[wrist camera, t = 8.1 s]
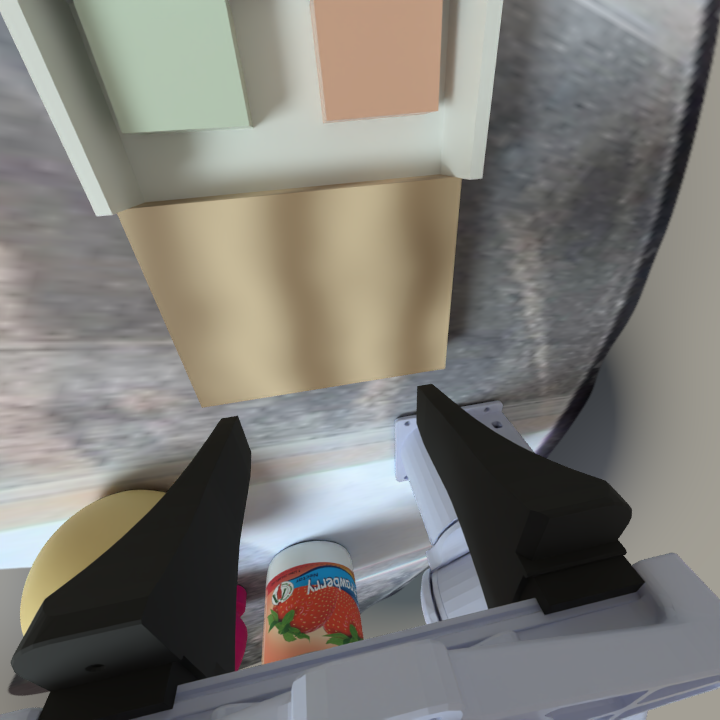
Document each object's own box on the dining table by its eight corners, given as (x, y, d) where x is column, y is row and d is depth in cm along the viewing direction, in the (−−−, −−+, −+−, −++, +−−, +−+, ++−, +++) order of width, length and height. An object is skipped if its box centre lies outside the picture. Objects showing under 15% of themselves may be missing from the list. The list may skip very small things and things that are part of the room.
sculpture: (96, 560, 31) (17, 727, 22) (50, 475, 25) (-84, 659, 16) (226, 547, 34) (202, 693, 25) (214, 467, 27) (177, 623, 18)
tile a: (438, 110, 15) (423, 114, 16) (443, -21, 13) (425, -2, 14) (326, 121, 14) (323, 123, 16) (311, -15, 12) (309, 5, 14)
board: (442, 173, 18) (461, 176, 16) (431, 349, 25) (444, 368, 23) (137, 202, 17) (115, 209, 15) (210, 383, 23) (201, 407, 21)
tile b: (249, 125, 14) (254, 127, 16) (222, -14, 12) (231, 7, 13) (122, 133, 13) (140, 134, 15) (68, -11, 11) (97, 9, 13)
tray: (461, -27, 14) (512, -80, 11) (447, 172, 18) (482, 178, 15) (47, -15, 13) (-40, -74, 9) (135, 202, 17) (96, 216, 13)
